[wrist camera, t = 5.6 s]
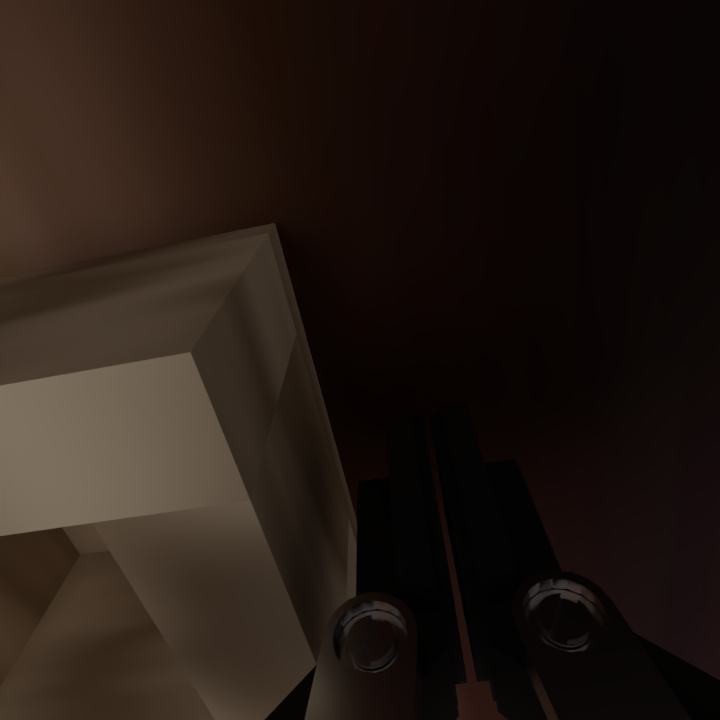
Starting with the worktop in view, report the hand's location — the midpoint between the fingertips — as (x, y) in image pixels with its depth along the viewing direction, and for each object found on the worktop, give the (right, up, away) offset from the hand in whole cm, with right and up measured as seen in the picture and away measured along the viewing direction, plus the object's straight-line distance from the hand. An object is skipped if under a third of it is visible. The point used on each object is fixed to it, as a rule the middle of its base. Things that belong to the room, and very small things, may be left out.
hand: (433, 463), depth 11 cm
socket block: (-7, 0, +3) cm, 8 cm away
